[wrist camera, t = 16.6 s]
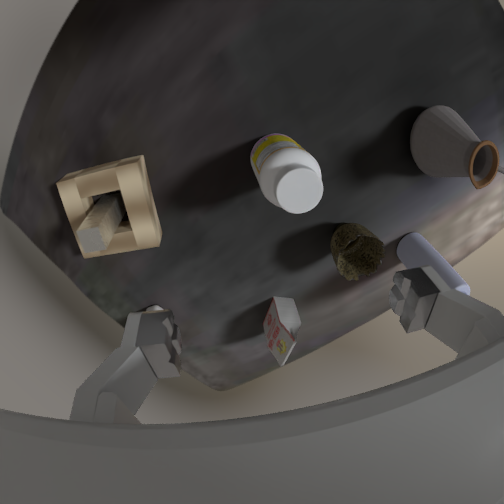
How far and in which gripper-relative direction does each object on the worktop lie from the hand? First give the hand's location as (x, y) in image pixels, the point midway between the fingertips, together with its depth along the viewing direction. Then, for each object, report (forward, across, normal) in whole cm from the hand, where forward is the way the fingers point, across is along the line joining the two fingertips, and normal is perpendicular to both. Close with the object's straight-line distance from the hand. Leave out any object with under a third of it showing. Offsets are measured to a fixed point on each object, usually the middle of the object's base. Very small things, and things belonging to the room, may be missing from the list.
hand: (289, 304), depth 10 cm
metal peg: (+31, +18, +7) cm, 37 cm away
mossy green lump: (+31, -15, +17) cm, 39 cm away
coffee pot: (+31, -35, +3) cm, 47 cm away
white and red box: (+31, -4, +32) cm, 45 cm away
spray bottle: (+31, -29, +22) cm, 48 cm away
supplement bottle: (+31, -5, +4) cm, 32 cm away
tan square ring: (+31, +18, +7) cm, 37 cm away
